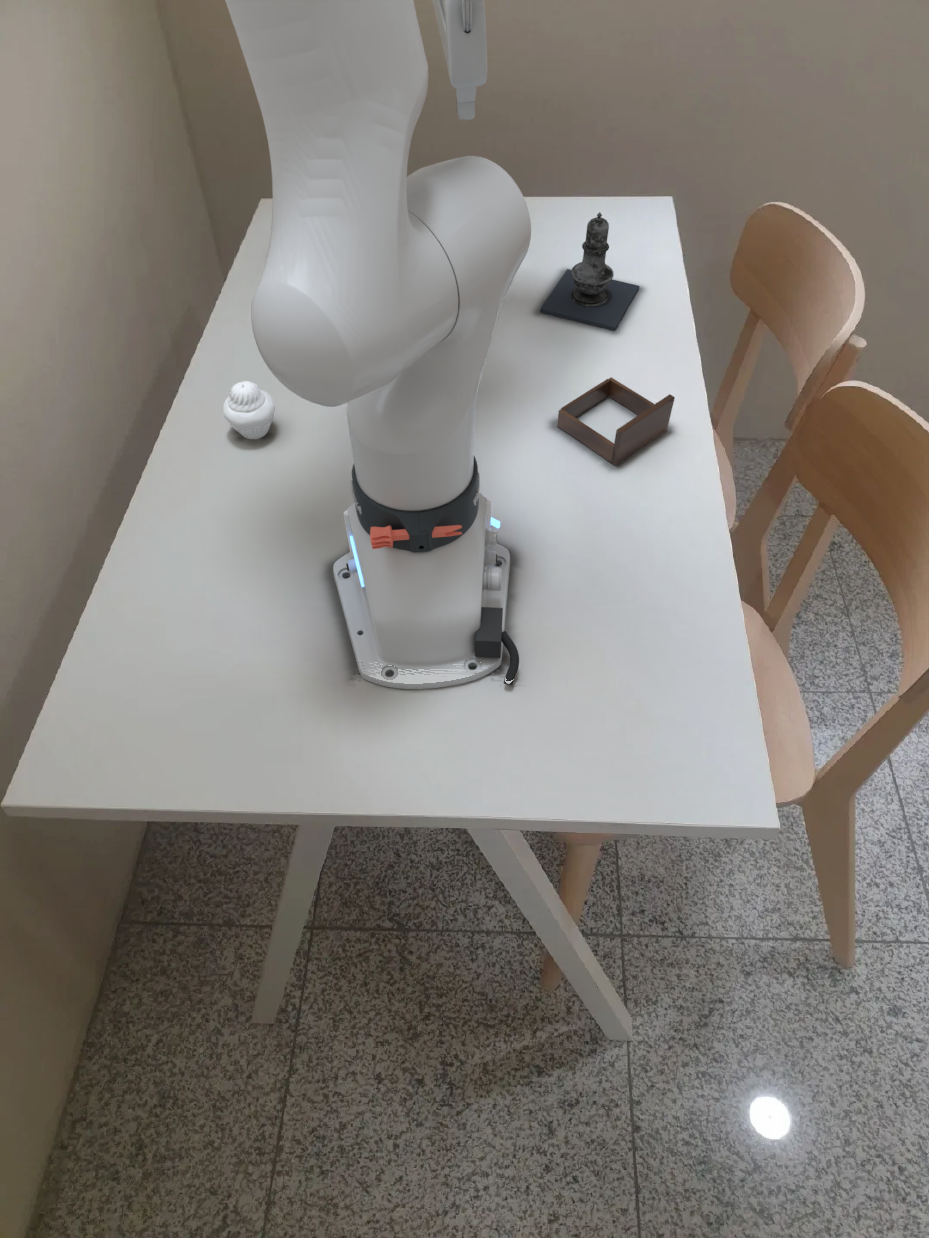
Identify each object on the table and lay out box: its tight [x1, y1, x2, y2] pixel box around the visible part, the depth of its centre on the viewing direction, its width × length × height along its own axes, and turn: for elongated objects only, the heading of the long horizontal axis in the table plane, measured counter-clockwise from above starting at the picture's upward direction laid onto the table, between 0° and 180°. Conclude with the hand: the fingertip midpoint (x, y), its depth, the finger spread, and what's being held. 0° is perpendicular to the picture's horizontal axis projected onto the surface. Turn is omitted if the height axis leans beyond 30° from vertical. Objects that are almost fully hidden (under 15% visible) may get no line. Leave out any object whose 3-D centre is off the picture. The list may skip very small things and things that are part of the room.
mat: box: [539, 268, 640, 331], centre depth 119 cm, size 11×11×1 cm
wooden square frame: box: [556, 377, 676, 467], centre depth 101 cm, size 10×9×5 cm
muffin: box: [222, 380, 276, 441], centre depth 100 cm, size 6×6×7 cm
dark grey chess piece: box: [570, 211, 615, 307], centre depth 114 cm, size 6×6×12 cm
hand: (461, 97), depth 90 cm, fingers open, 8 cm apart
